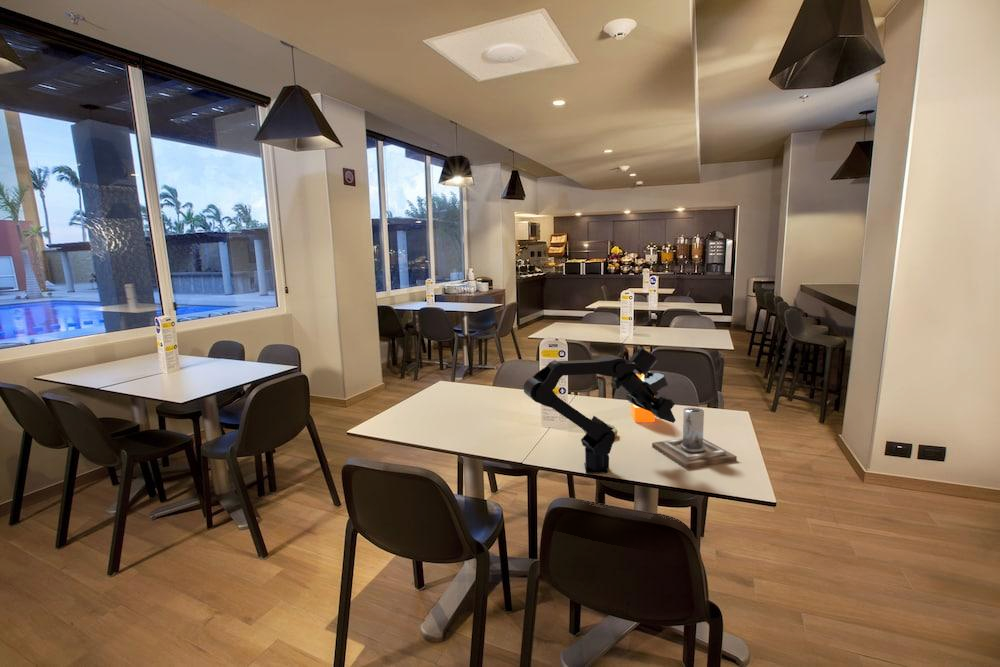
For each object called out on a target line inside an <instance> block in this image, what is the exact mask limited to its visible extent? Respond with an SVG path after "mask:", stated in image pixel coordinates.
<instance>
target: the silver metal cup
mask: <svg viewBox="0 0 1000 667" xmlns="http://www.w3.org/2000/svg"><path fill="white" fill-rule="evenodd" d="M704 416H705V411H704V410H703V409H702V408H700V407H699V408H698V407H685V408H683V416H682V417H683V419H682V422H683V423H682V438H683V443H681V450H682V451H684V452H687V453H692V454H699V453H703V452H704V451H705V446H704V445H703V439H704V422H705V421H704V420H705V417H704Z"/></svg>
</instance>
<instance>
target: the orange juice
mask: <svg viewBox="0 0 1000 667" xmlns="http://www.w3.org/2000/svg"><path fill="white" fill-rule="evenodd" d="M635 374H636V375H637V376H638V377H639V378H640V379H641V380H642V381H644V374H641V375H638V374H637V373H635ZM654 397H656V396H654ZM630 416H631V417H632V420H633V419H634V420H633V422H634V421H635V422H655V421H656V419H655V418H656V416H655V415H654V414H653V413H652V412H650V411H648V410H645V409H643V408H640V407H638V406H636V405H634V404H632V403H630ZM635 422H634V423H635ZM655 423H656V422H655Z"/></svg>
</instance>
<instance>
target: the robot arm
mask: <svg viewBox="0 0 1000 667" xmlns="http://www.w3.org/2000/svg"><path fill="white" fill-rule="evenodd" d="M657 362H658V359H657V357H656V356H655V355H654V354H652V353H651V352H649V351H648V350H646V349H645V348H643V347H640V346H639V347H638V348H636V350H635V352H634V354H632V356H631V357H630V358H629V359H626V358H621V357H618V356H616V355H613V354H608V355H604V356H603V355H602V356H598V357H597V358H595V359H585V360H584V359H581V360H579V359H578V360H557V359H556V360H551V361H550V362H548V364H547V365H546V366H545V367H543V368H542V369H540V370H538V371H537V372H536V373H535V374H534V375H533V376H532V377H531V378H528V379H527V380H526V381H525V382H524V384H523V393H524V394H525V395H527V397H528V398H530V399H531V400H533V401H534V402H535V403H537V404H540V405H543V406H545V407H548V408H551V409H553V410H554V411H556V412H557V413H558V414H560V415H561V416H562V417H565V418H566V419H568V420H569V421H571V422H572V423H573V424H574V425H576V426H577V427H579V428H580V429H581V430H582V431H583V432H584V433H585V435H584V436H583V437H582V438H581V439H580V442H581V444H582V446H583V447H584V463H583V464H584V469H585V473H586V474H608V473H609V469H610V461H609V460H610V456H609V454H610V453H611V450H612V447H613V444H614V442H615V440H616V437H615V433H614V432H613V431H612V429H613V428H612V427H610V426H609V425H607V424H608V423H607V424H606V423H605V421H603V420H601V419H599V418H598V417H597V416H595V415H593V416H592V418H588V417H587V416H586V415H584V414H582V413H581V412H580V411H578V410H577V409H575V408H574V407H573V406H571V405H570V404H568V403H567V402H565V401H564V400H562V399H561V398H560V397H559V396H558V395H557V393H555V391H554V389H555V388H556V387H557V385H558V383H559V382H560V379H561V378H562V377H563V376H579V375H580V376H582V375H584V376H585V375H586V376H587V375H602V376H605V377H611V384H610V387H612V388H615V390H619V389H620V388H622V390H624V391H625V392H626V396H625V398H626V400H627V401H628V402H629V403H630V404H631V403H632V404H634V405H636V406H638V407H640V408H643V409H645V410H648V411H650V412H652V413H653V414H654V415H655V418H658V419H661V420H664V421H667V422H670V423H673V424H674V423H675V422H676V418H675V415H674V413H673V411H672V409H673V407H675V405H676V404H675V402H674V401H673V399H671V398H669V397H667V396H664V395H663V396H660V397H659V398H658V397H657V395H658V394H659V392H658V391H660V390H661V389H663V388H665V387H667V386H668V385H669V384H668V381H667V378H666V377H665V374H662V373H659V372H653V373H652V372H651V371H650V370H651V369H652V368H653V367H654V365H655V364H656V363H657ZM636 373H637V374H638V375H641V374H644V381H642V380H641V379H640V378H639V377H638V376H637V375H636ZM654 396H655V397H654Z"/></svg>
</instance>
